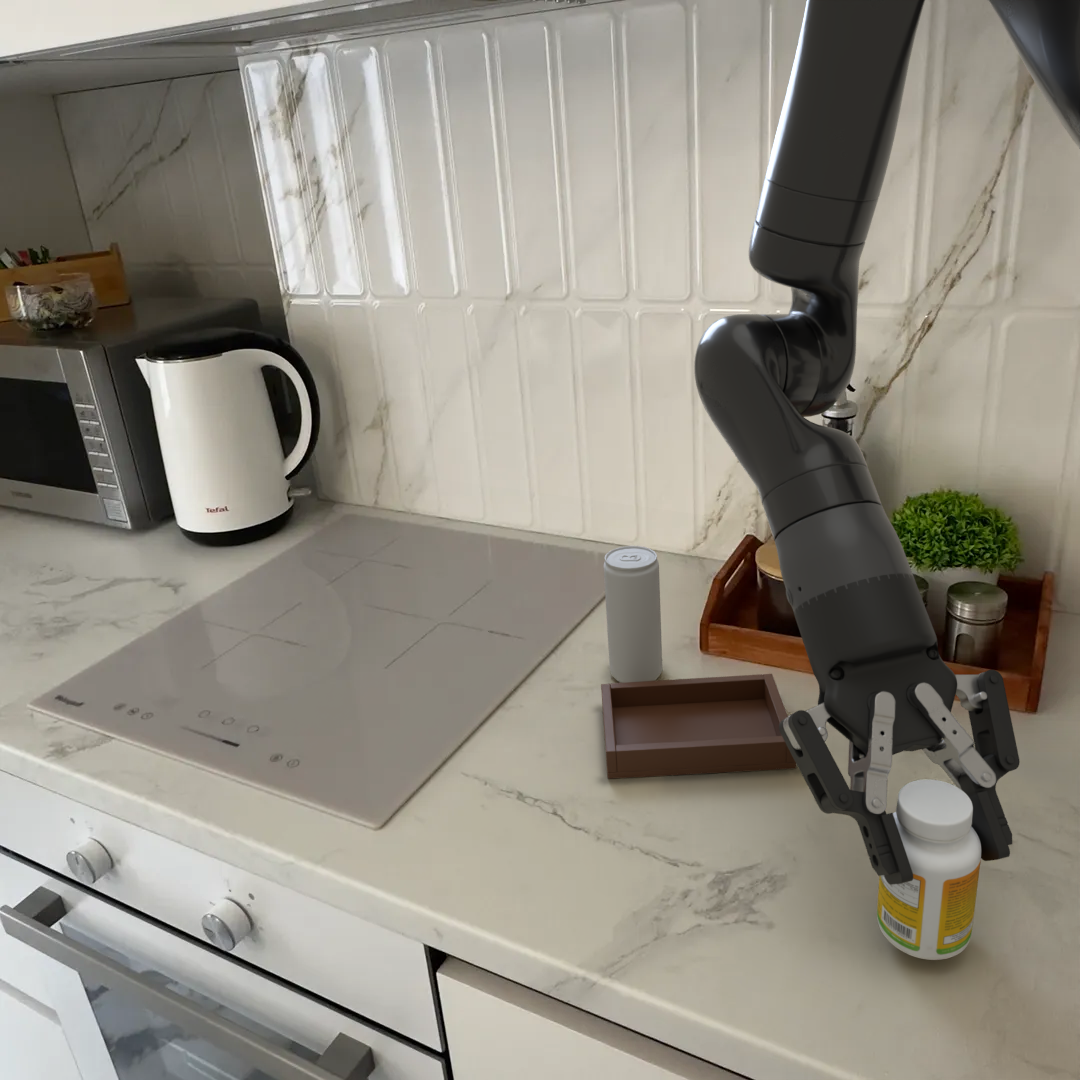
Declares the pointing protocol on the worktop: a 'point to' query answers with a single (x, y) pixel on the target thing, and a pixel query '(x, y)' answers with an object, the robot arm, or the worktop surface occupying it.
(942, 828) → the supplement bottle
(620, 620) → the beverage can
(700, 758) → the tray
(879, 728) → the robot arm
